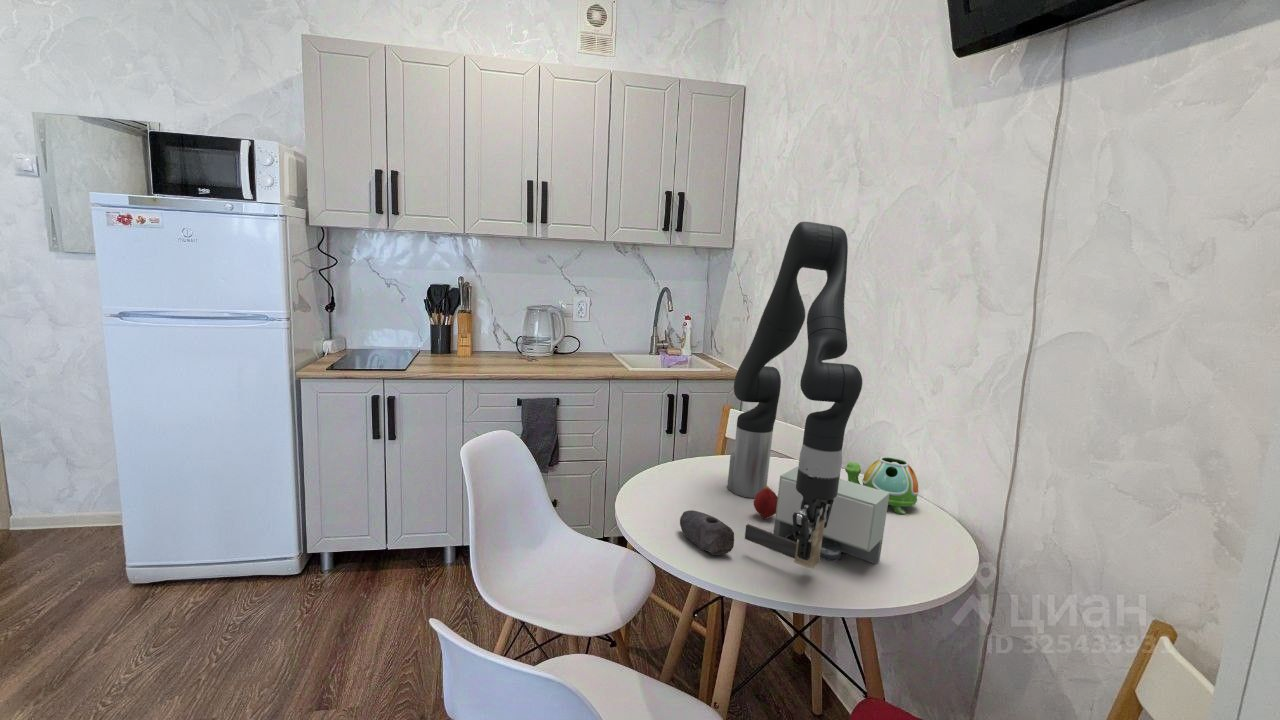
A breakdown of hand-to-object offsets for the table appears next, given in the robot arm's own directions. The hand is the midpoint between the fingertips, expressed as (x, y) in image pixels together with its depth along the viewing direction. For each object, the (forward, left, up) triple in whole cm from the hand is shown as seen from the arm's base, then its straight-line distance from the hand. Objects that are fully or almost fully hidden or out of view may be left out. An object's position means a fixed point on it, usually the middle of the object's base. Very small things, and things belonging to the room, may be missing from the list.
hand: (807, 554), depth 117 cm
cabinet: (-2, +14, -5) cm, 15 cm away
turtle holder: (-2, +52, -5) cm, 52 cm away
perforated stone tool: (-22, -3, -5) cm, 22 cm away
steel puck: (-1, +13, -5) cm, 14 cm away
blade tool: (-6, 0, -2) cm, 6 cm away
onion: (-19, +20, -5) cm, 28 cm away
